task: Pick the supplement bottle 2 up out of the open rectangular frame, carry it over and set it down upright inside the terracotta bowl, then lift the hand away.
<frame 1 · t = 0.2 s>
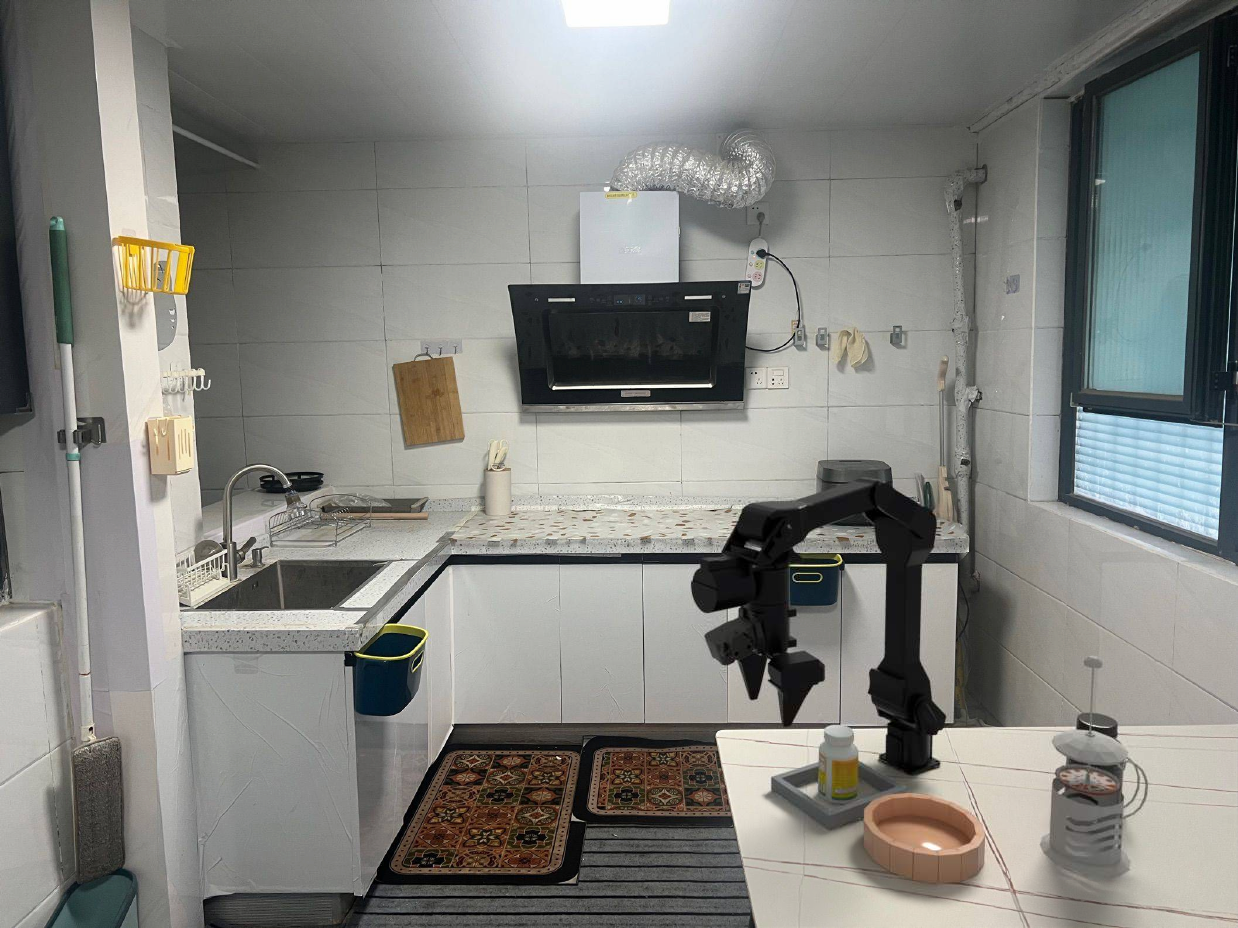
hand: (769, 712, 114), 14 cm above the table, tool pointing down, fingers open, 9 cm apart
french press: (1091, 854, 104), on the table
supplement bottle 2: (838, 797, 119), resting in open rectangular frame
supplement bottle: (1092, 804, 116), on the table
open rectangular frame: (838, 795, 119), on the table
bowl: (922, 848, 106), on the table
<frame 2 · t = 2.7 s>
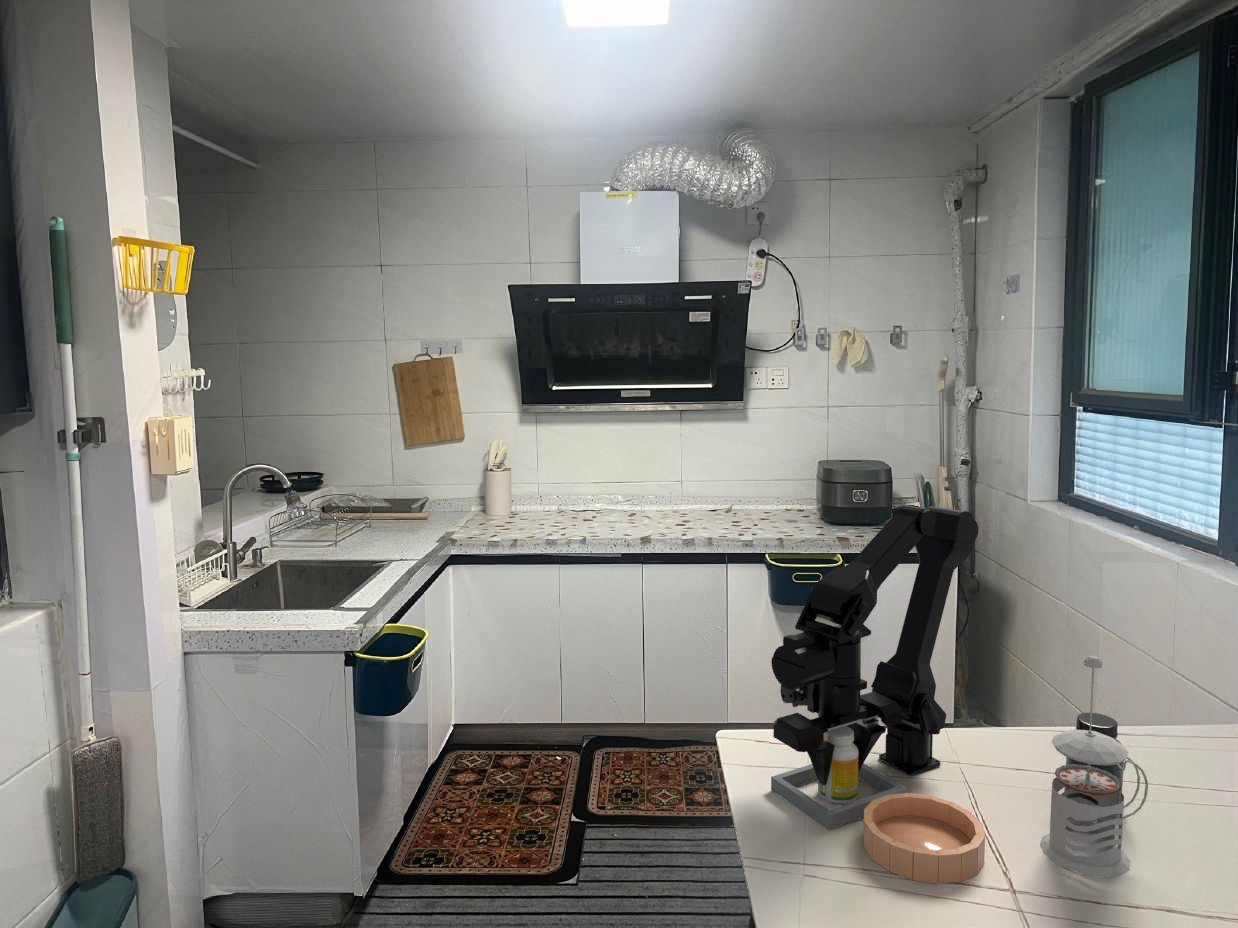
hand: (838, 778, 119), 3 cm above the table, tool pointing down, fingers closed on supplement bottle 2, 5 cm apart
supplement bottle 2: (838, 796, 119), resting in open rectangular frame, touching gripper
everything else where it was.
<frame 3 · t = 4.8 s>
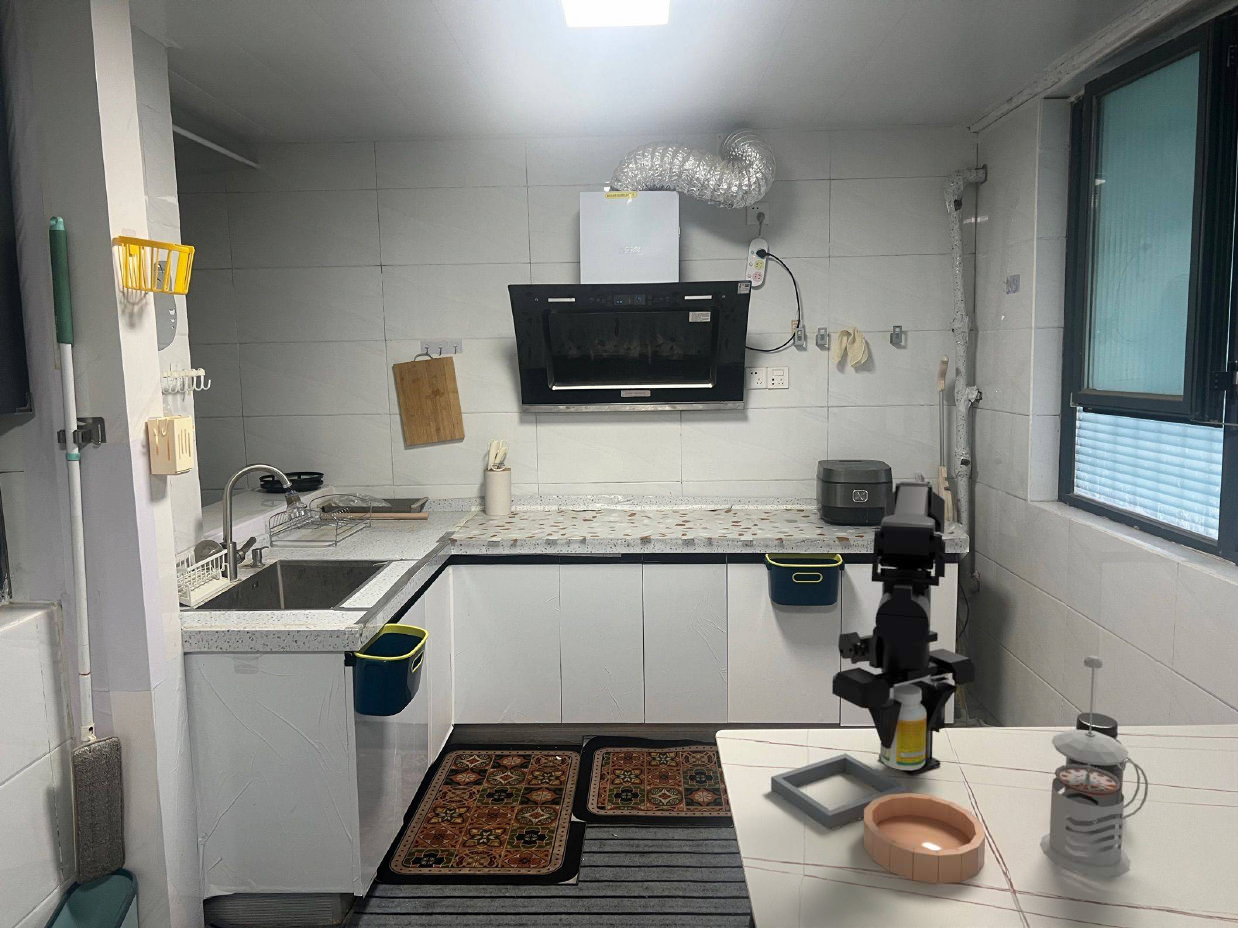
hand: (903, 742, 107), 13 cm above the table, tool pointing down, fingers closed on supplement bottle 2, 5 cm apart
supplement bottle 2: (902, 763, 107), point 10 cm above the table, touching gripper
everything else where it was.
when the fingers open (5 cm above the table, at t = 7.2 s): supplement bottle 2 drops 1 cm, resting on bowl.
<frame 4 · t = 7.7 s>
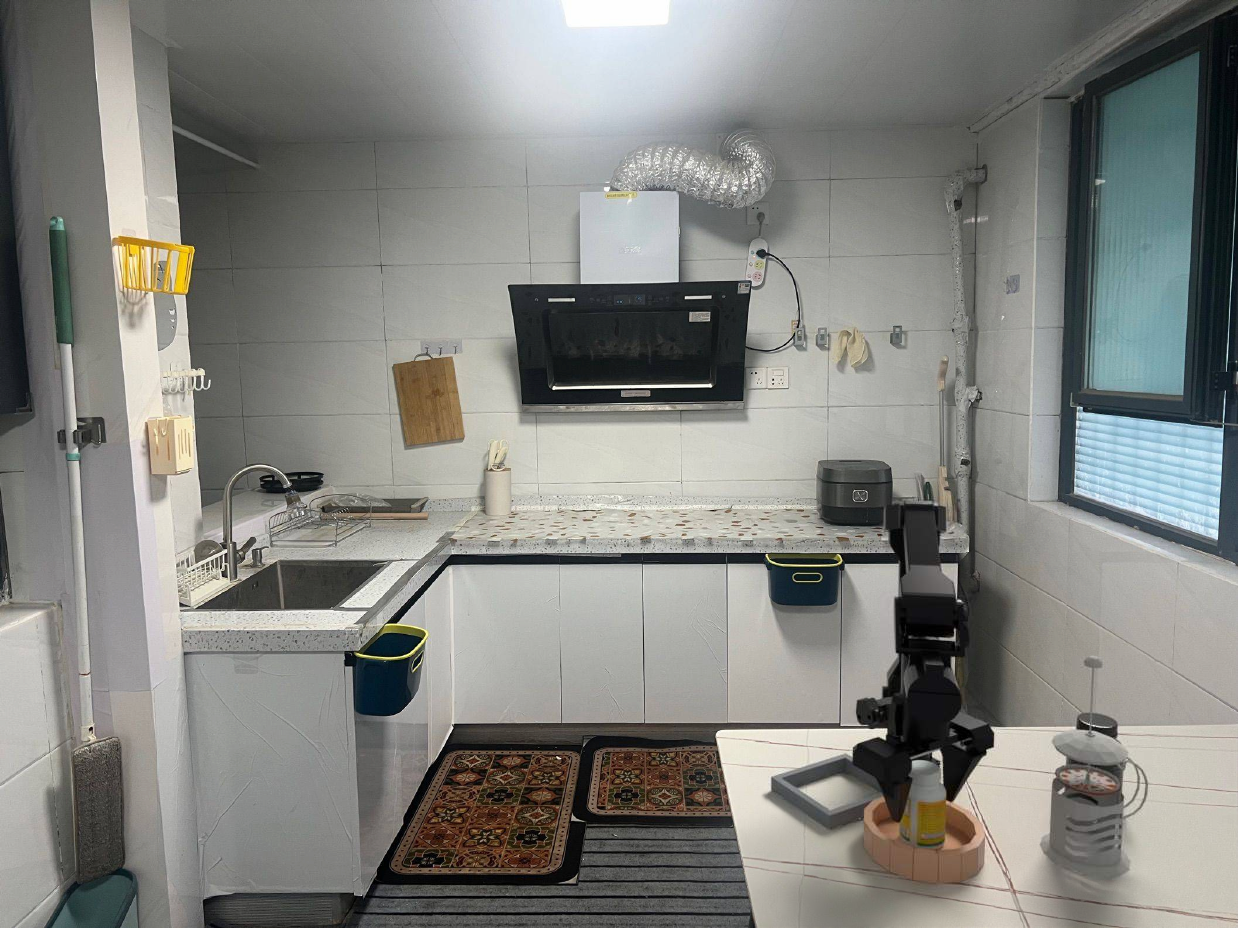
hand: (923, 810, 105), 5 cm above the table, tool pointing down, fingers open, 9 cm apart
supplement bottle 2: (922, 841, 106), point 1 cm above the table, touching bowl
everything else where it was.
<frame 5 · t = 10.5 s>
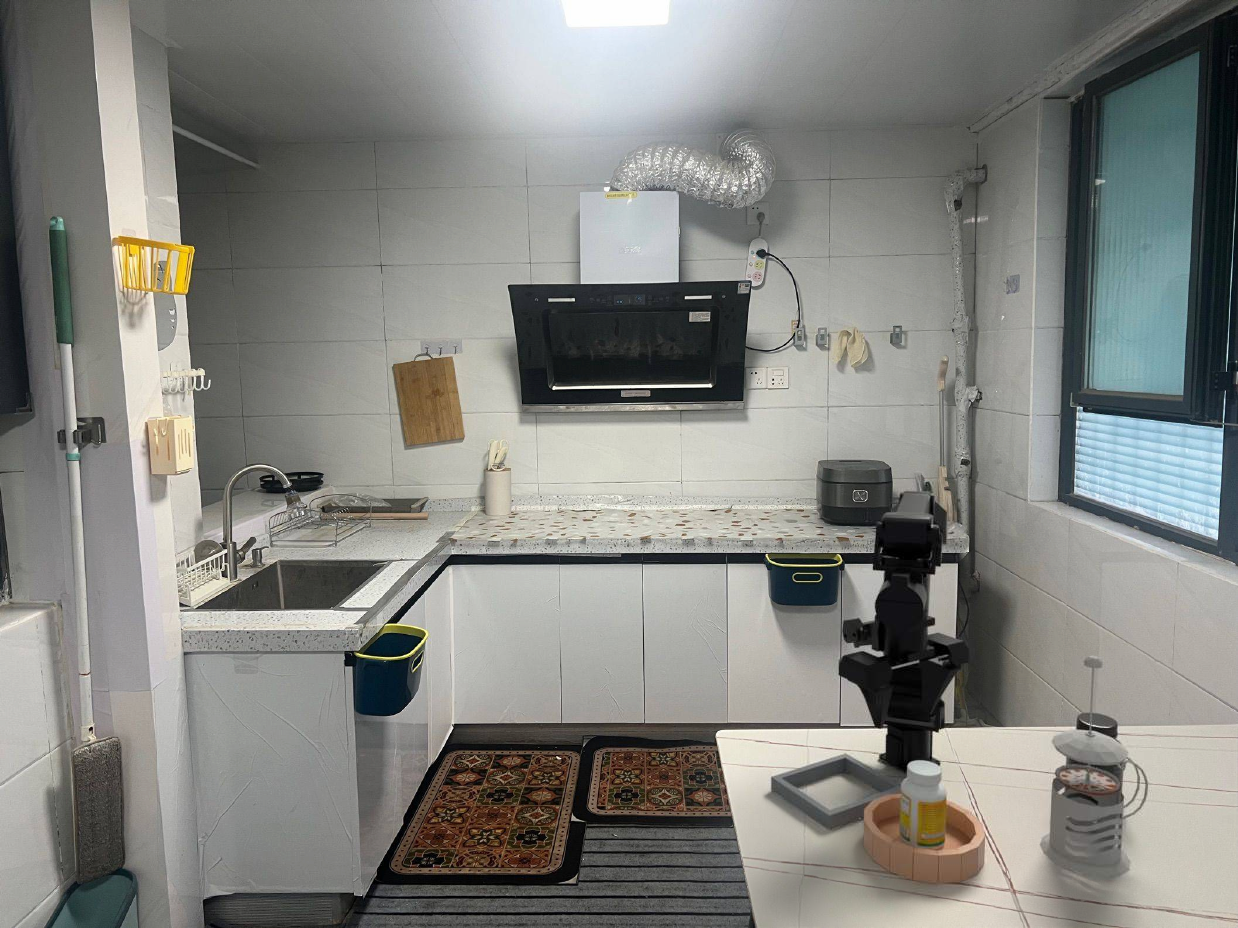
hand: (903, 719, 115), 12 cm above the table, tool pointing down, fingers open, 9 cm apart
nothing on the table moved.
at the end: supplement bottle 2 inside the target area on the bowl (0.1 cm from its centre), point 0.8 cm above the bowl's base; supplement bottle 2 tilted 0°; the gripper is holding nothing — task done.
